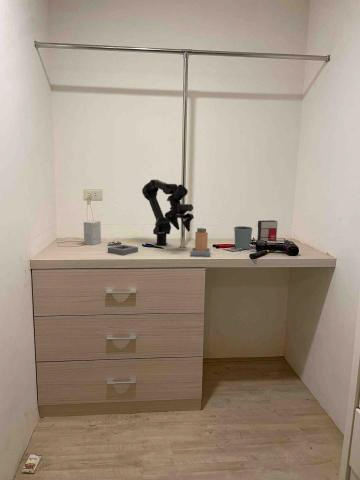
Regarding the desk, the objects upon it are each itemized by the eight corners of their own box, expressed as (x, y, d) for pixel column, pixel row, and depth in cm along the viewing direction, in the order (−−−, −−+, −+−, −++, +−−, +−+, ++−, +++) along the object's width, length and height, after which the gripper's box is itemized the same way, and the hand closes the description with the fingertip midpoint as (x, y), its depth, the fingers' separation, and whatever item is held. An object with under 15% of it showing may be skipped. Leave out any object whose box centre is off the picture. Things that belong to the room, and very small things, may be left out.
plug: (194, 252, 199) (195, 228, 196) (200, 251, 201) (201, 227, 199) (201, 254, 195) (202, 229, 193) (207, 253, 198) (207, 228, 195)
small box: (92, 242, 226) (91, 220, 224) (101, 243, 224) (100, 221, 222) (83, 244, 219) (83, 221, 217) (92, 245, 217) (92, 222, 214)
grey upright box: (259, 246, 222) (261, 221, 219) (256, 245, 226) (257, 220, 223) (276, 246, 225) (278, 221, 222) (273, 244, 229) (274, 220, 226)
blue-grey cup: (253, 247, 219) (254, 227, 217) (248, 250, 210) (249, 229, 208) (236, 245, 224) (237, 225, 221) (230, 248, 215) (231, 227, 213)
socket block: (122, 250, 204) (122, 244, 203) (138, 253, 197) (138, 247, 197) (107, 254, 195) (107, 247, 194) (123, 257, 188) (123, 250, 188)
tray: (191, 252, 204) (191, 247, 203) (210, 252, 203) (210, 248, 202) (190, 256, 194) (190, 251, 193) (210, 257, 193) (210, 252, 193)
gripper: (176, 194, 194) (184, 222, 190) (196, 200, 209) (205, 225, 204) (160, 204, 200) (168, 231, 196) (181, 209, 215) (189, 234, 210)
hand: (183, 230), depth 201 cm, fingers open, 9 cm apart
